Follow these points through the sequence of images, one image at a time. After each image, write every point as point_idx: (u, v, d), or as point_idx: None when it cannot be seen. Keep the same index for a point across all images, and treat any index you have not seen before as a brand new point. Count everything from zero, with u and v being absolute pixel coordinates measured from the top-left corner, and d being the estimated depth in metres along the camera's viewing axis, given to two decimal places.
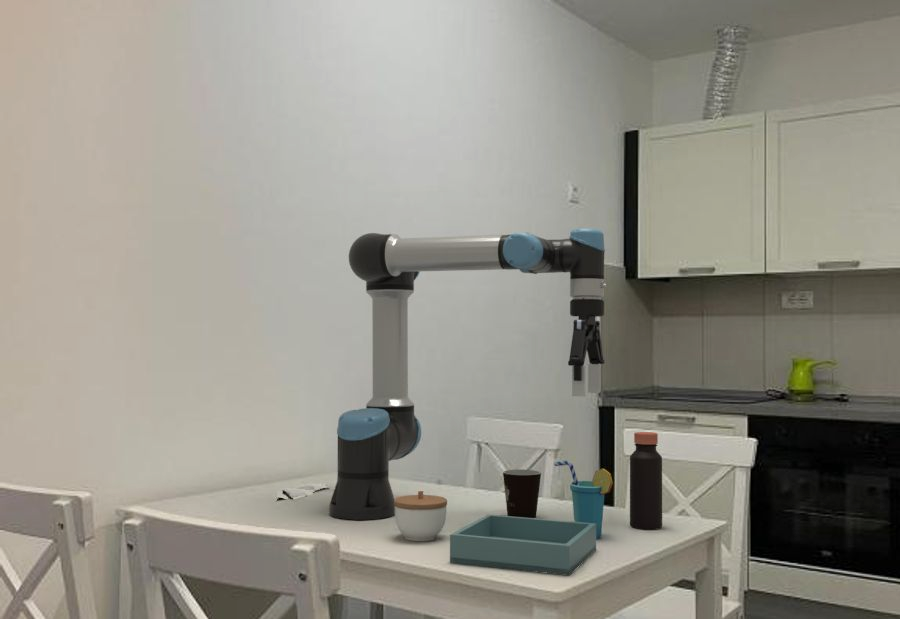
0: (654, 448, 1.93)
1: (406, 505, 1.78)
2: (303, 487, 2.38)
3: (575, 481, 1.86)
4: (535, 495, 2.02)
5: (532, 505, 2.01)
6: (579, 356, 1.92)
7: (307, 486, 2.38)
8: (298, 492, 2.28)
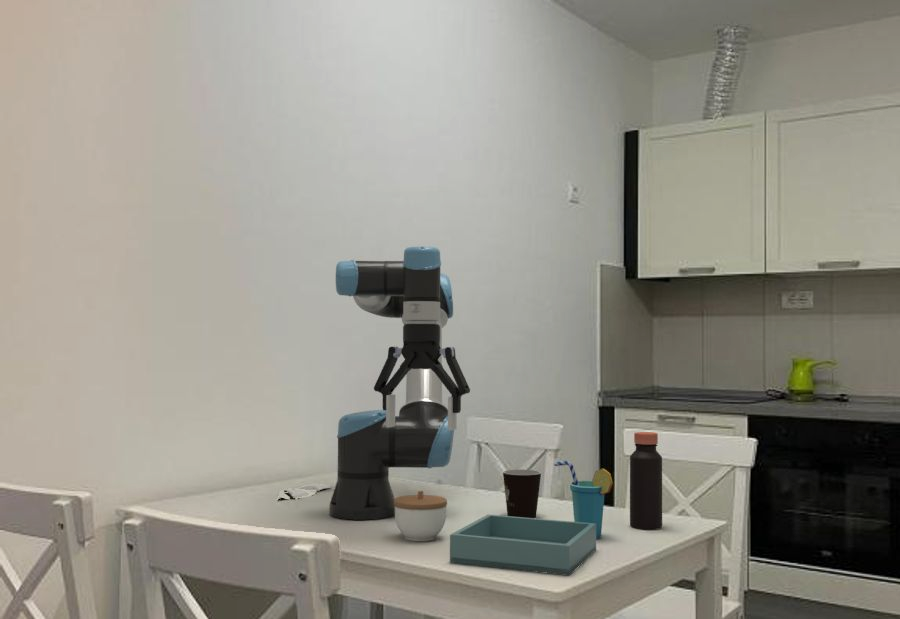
0: (654, 448, 1.93)
1: (406, 505, 1.78)
2: (305, 487, 2.38)
3: (575, 481, 1.86)
4: (535, 495, 2.02)
5: (532, 505, 2.01)
6: None
7: (309, 486, 2.37)
8: (300, 492, 2.27)
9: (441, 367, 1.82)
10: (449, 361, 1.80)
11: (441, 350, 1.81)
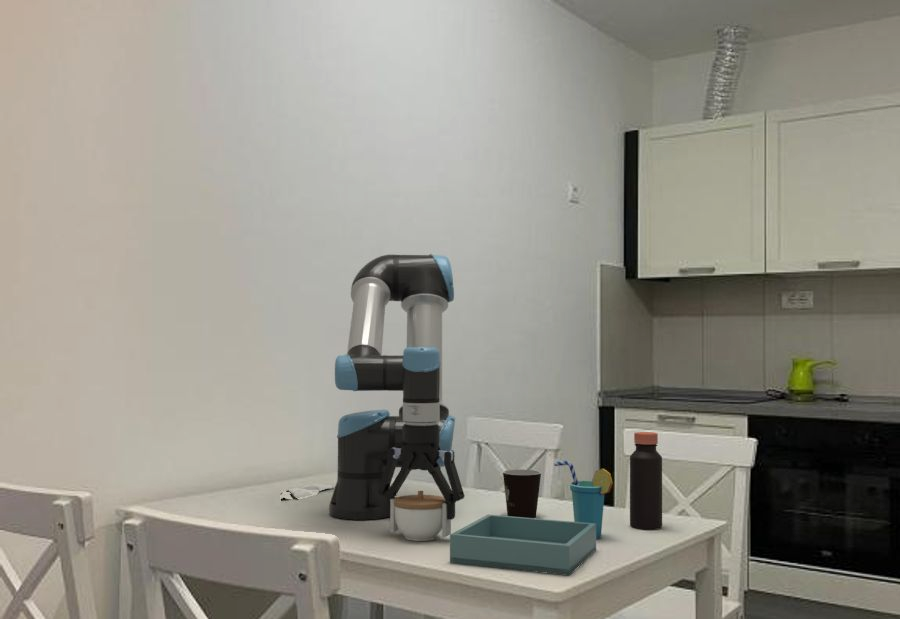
0: (654, 448, 1.93)
1: (406, 505, 1.78)
2: (308, 487, 2.37)
3: (575, 481, 1.86)
4: (535, 495, 2.02)
5: (532, 505, 2.01)
6: None
7: (312, 486, 2.37)
8: (302, 492, 2.27)
9: (439, 470, 1.82)
10: (447, 466, 1.79)
11: (441, 453, 1.81)
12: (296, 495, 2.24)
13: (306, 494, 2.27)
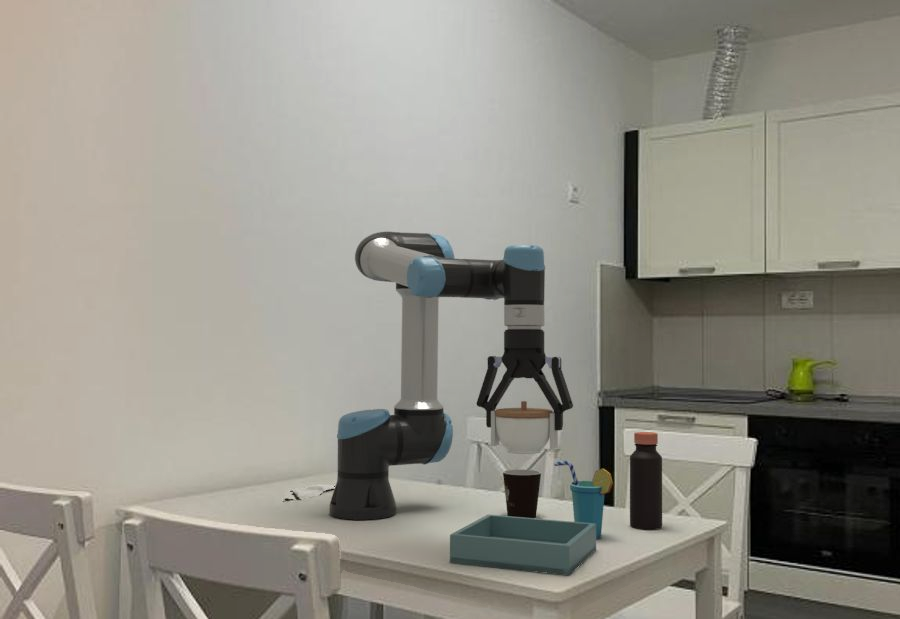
0: (654, 448, 1.93)
1: (511, 414, 1.64)
2: (312, 487, 2.37)
3: (575, 481, 1.86)
4: (535, 495, 2.02)
5: (532, 505, 2.01)
6: None
7: (315, 487, 2.37)
8: (306, 493, 2.27)
9: (544, 378, 1.68)
10: (555, 372, 1.65)
11: (547, 359, 1.67)
12: (300, 495, 2.24)
13: (310, 494, 2.27)
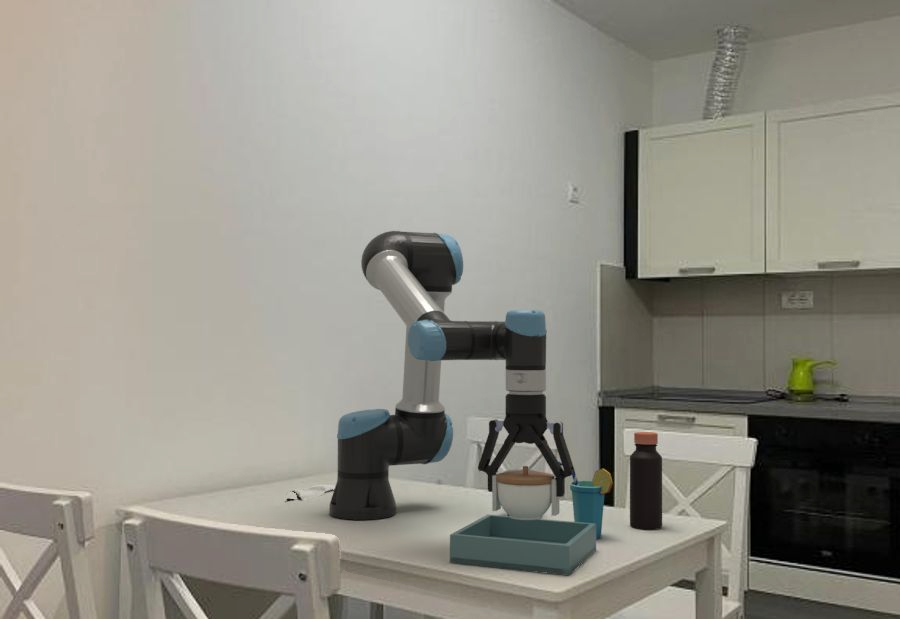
0: (654, 448, 1.93)
1: (512, 480, 1.63)
2: (314, 488, 2.37)
3: (575, 481, 1.86)
4: None
5: None
6: None
7: (318, 487, 2.37)
8: (308, 493, 2.27)
9: (546, 443, 1.67)
10: (557, 438, 1.65)
11: (549, 424, 1.66)
12: (301, 495, 2.24)
13: (312, 494, 2.27)
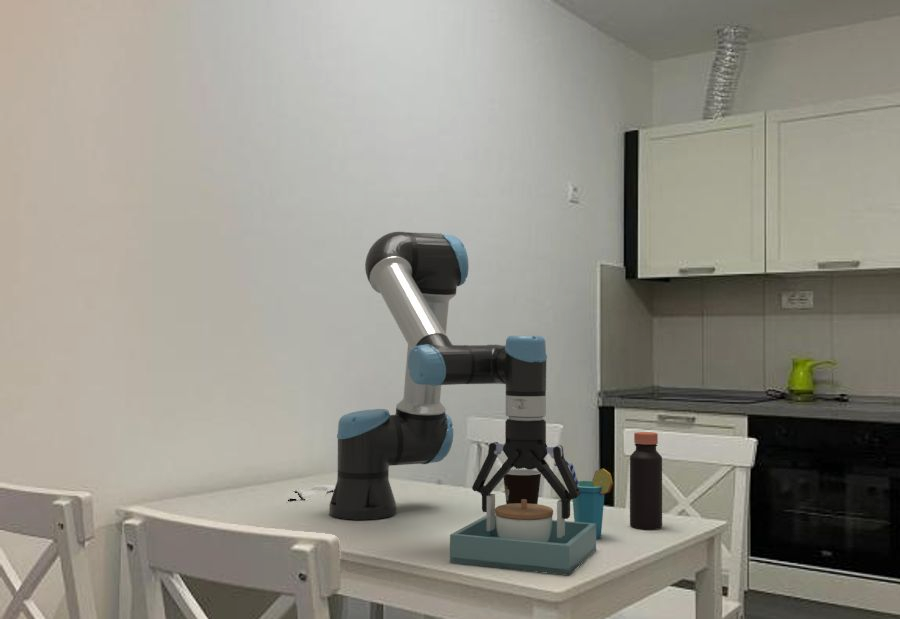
0: (654, 448, 1.93)
1: (511, 515, 1.63)
2: (316, 488, 2.37)
3: (575, 481, 1.86)
4: (535, 495, 2.02)
5: None
6: None
7: (320, 487, 2.36)
8: (310, 493, 2.26)
9: (548, 467, 1.67)
10: (558, 462, 1.65)
11: (548, 449, 1.66)
12: (304, 496, 2.24)
13: (314, 495, 2.27)
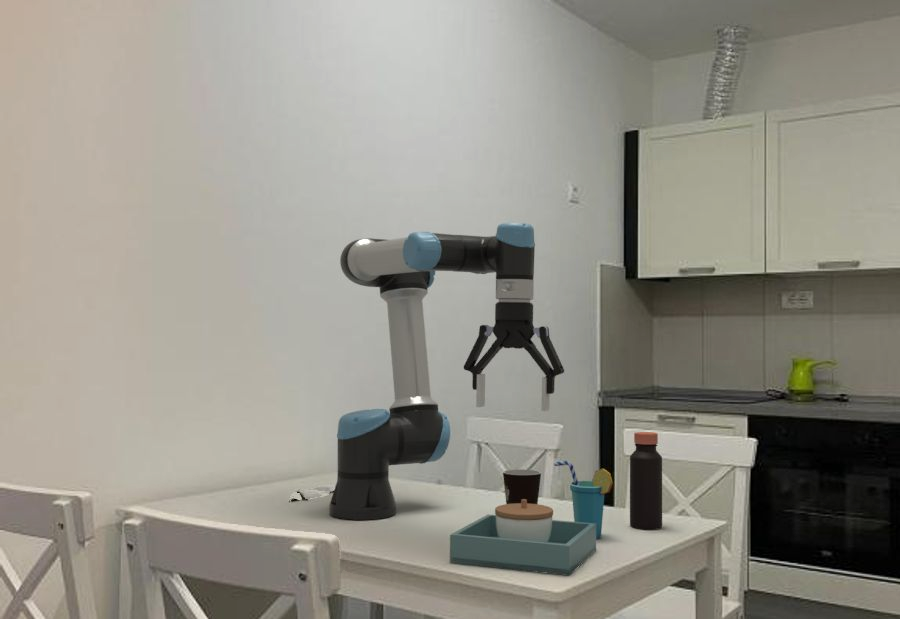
0: (654, 448, 1.93)
1: (511, 515, 1.63)
2: (318, 488, 2.36)
3: (575, 481, 1.86)
4: (535, 495, 2.02)
5: None
6: None
7: (322, 487, 2.36)
8: (312, 493, 2.26)
9: (534, 347, 1.78)
10: (543, 341, 1.76)
11: (535, 329, 1.77)
12: (306, 496, 2.23)
13: (316, 495, 2.26)
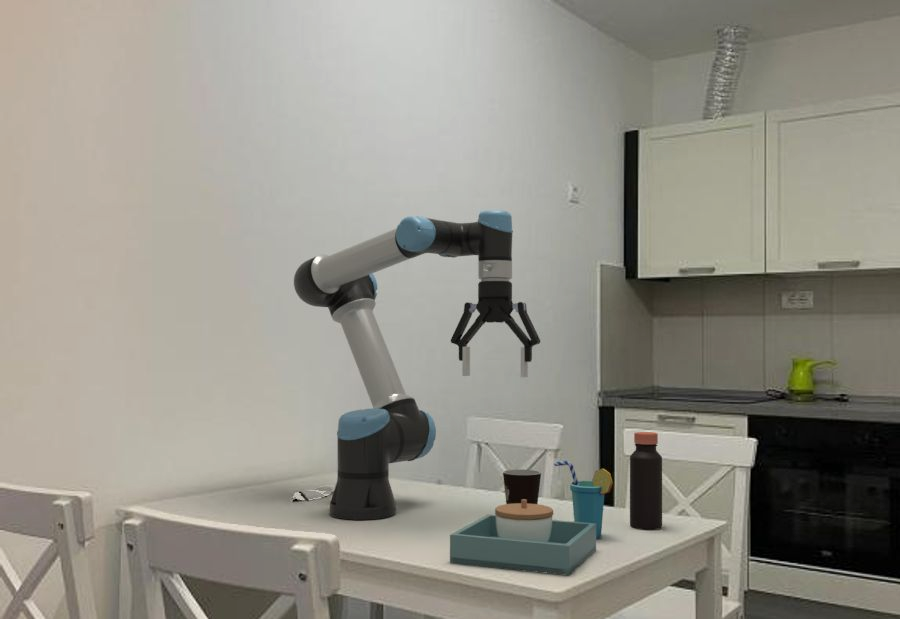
0: (654, 448, 1.93)
1: (511, 515, 1.63)
2: (320, 488, 2.36)
3: (575, 481, 1.86)
4: (535, 495, 2.02)
5: None
6: None
7: (324, 487, 2.36)
8: (314, 493, 2.26)
9: (513, 320, 2.00)
10: (521, 314, 1.97)
11: (514, 305, 1.99)
12: (308, 496, 2.23)
13: (318, 495, 2.26)
